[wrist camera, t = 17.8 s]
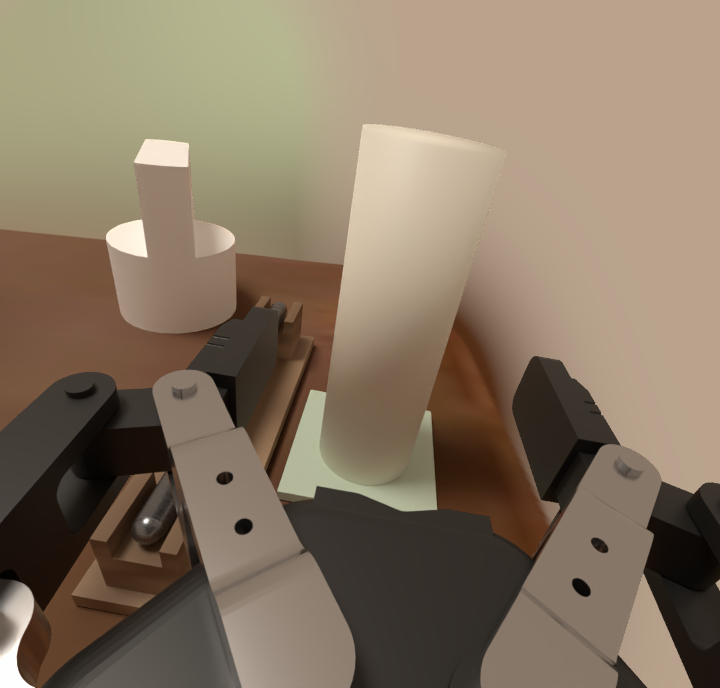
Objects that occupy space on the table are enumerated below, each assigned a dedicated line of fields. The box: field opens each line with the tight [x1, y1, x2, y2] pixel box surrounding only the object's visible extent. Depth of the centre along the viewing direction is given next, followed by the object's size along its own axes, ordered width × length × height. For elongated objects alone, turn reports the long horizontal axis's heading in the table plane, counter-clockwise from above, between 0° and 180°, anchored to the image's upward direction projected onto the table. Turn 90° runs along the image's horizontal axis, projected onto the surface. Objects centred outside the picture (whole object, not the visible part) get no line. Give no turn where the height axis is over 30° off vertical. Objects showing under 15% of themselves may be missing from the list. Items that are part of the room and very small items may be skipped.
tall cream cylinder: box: [319, 124, 507, 486], centre depth 19 cm, size 5×5×16 cm
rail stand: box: [71, 296, 314, 615], centre depth 23 cm, size 5×20×4 cm, turn 174°
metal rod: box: [131, 302, 287, 545], centre depth 22 cm, size 1×18×1 cm, turn 175°
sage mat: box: [277, 390, 437, 511], centre depth 23 cm, size 8×8×1 cm
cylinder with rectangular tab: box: [106, 139, 236, 334], centre depth 31 cm, size 9×9×12 cm
